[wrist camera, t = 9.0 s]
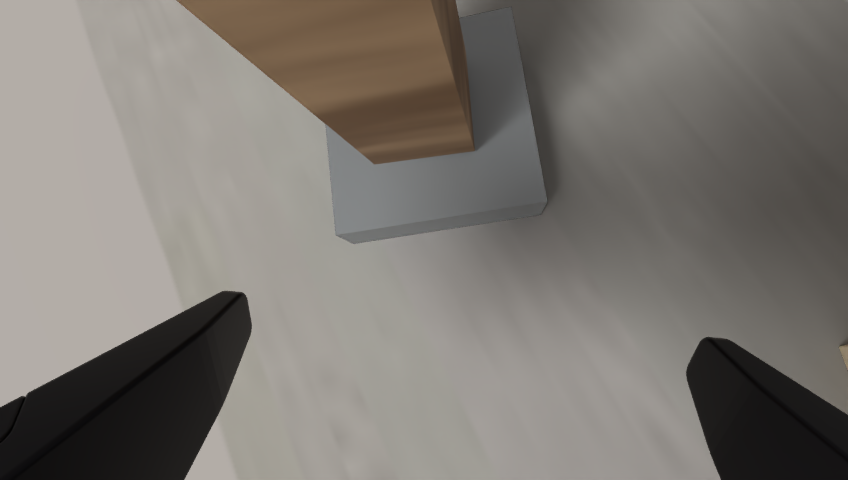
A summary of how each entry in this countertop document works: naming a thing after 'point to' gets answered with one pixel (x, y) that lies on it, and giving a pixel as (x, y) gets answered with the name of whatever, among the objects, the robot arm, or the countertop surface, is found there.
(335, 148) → the grey base block
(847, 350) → the maple cube
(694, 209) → the countertop surface
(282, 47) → the walnut block
